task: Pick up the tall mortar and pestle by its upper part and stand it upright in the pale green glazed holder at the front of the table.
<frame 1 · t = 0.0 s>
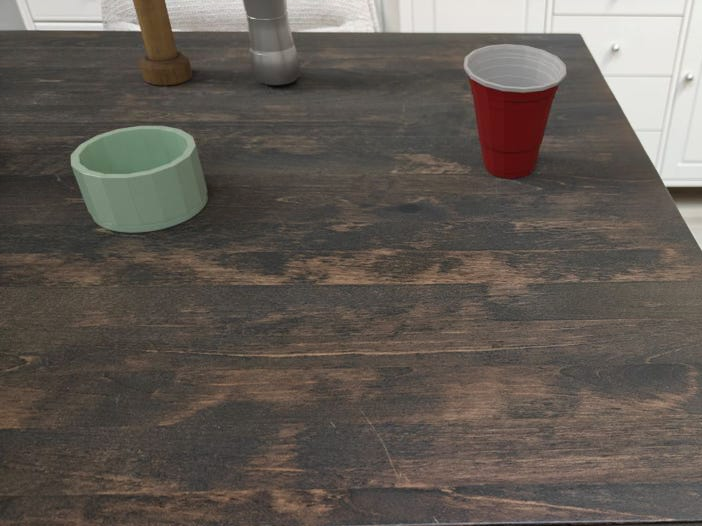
holder: (150, 203, 78), on the table
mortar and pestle: (169, 79, 104), on the table
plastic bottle: (278, 83, 104), on the table
plastic cup: (510, 169, 85), on the table
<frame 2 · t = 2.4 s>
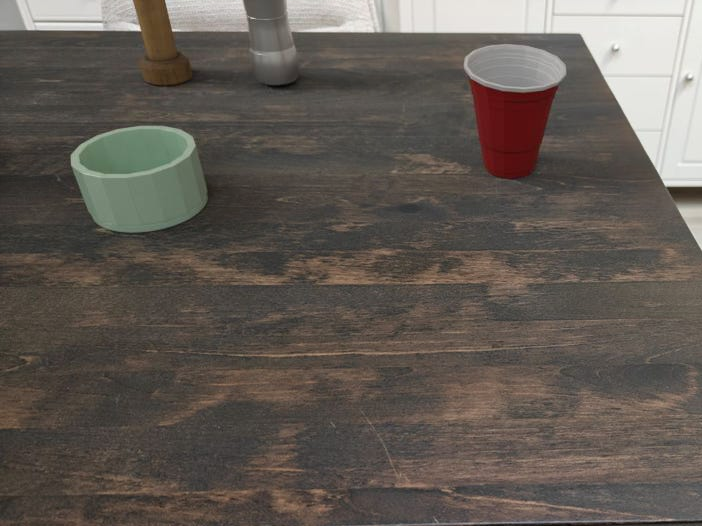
nothing on the table moved.
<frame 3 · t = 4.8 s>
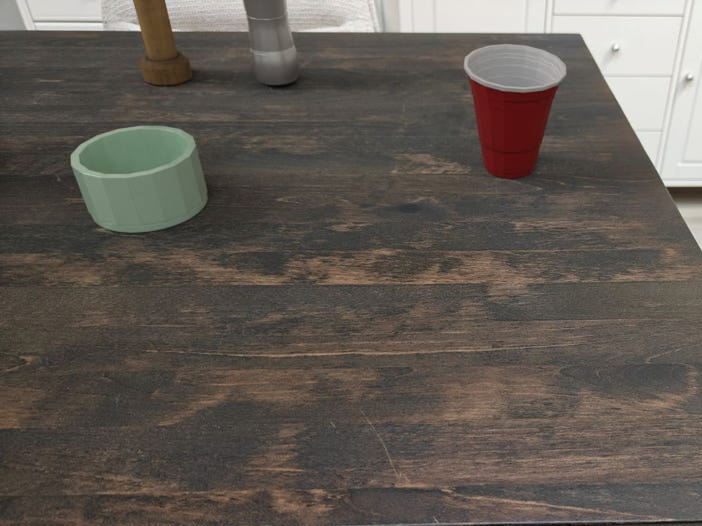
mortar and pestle: (169, 78, 104), on the table, touching gripper
everything else where it was.
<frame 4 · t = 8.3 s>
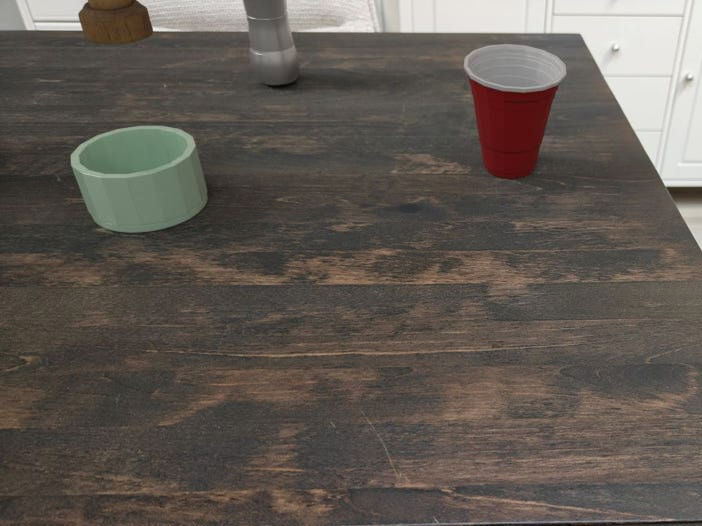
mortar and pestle: (120, 36, 76), point 14 cm above the table, touching gripper
everything else where it was.
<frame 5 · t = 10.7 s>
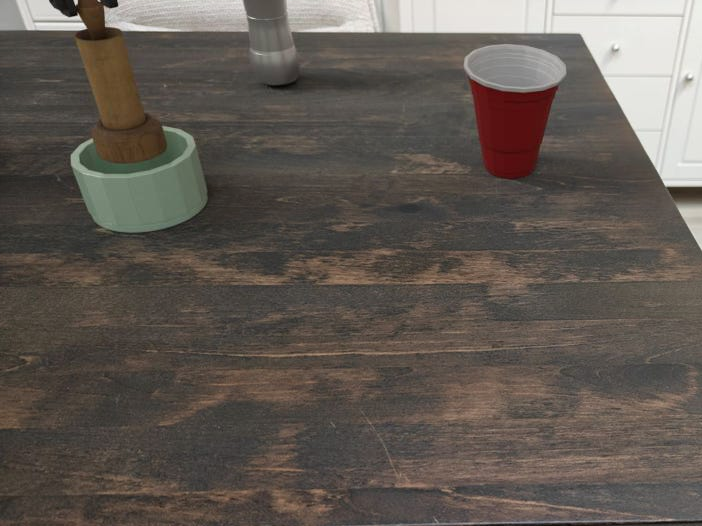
hand: (89, 9, 65), 19 cm above the table, tool pointing down, fingers closed on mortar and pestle, 3 cm apart
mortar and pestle: (133, 151, 74), point 6 cm above the table, touching gripper
everything else where it was.
when the fingers open (14 cm above the table, at t = 12.3 s): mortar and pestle stays where it is, resting on holder.
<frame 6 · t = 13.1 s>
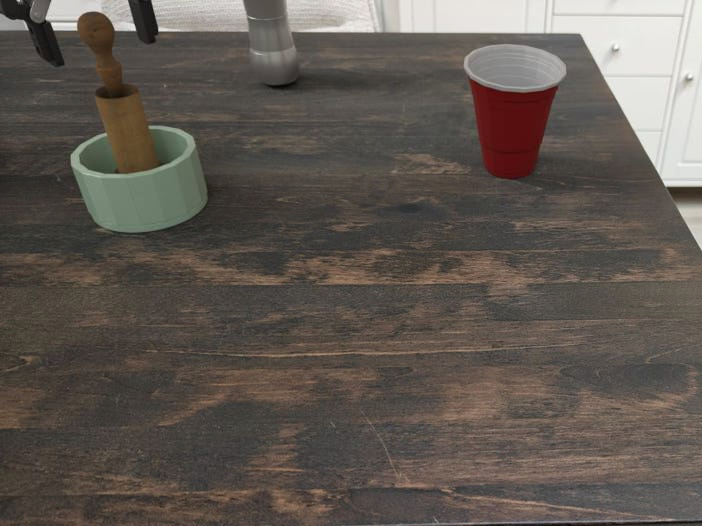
hand: (103, 52, 68), 15 cm above the table, tool pointing down, fingers open, 8 cm apart
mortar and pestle: (148, 198, 77), point 1 cm above the table, touching holder
everything else where it was.
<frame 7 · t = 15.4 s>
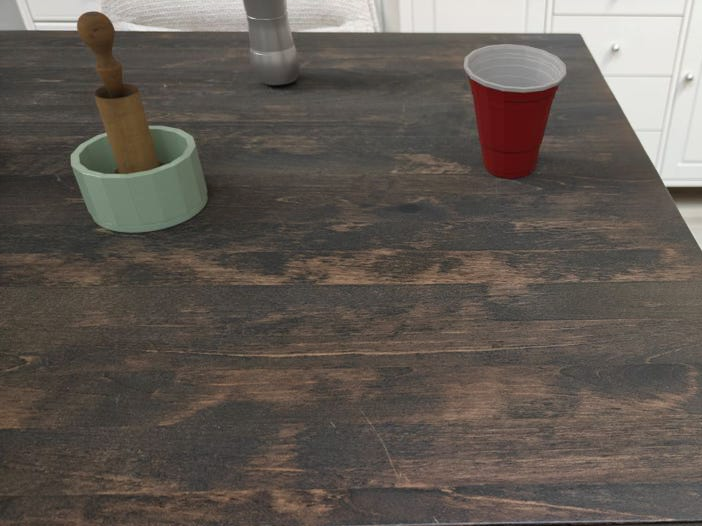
nothing on the table moved.
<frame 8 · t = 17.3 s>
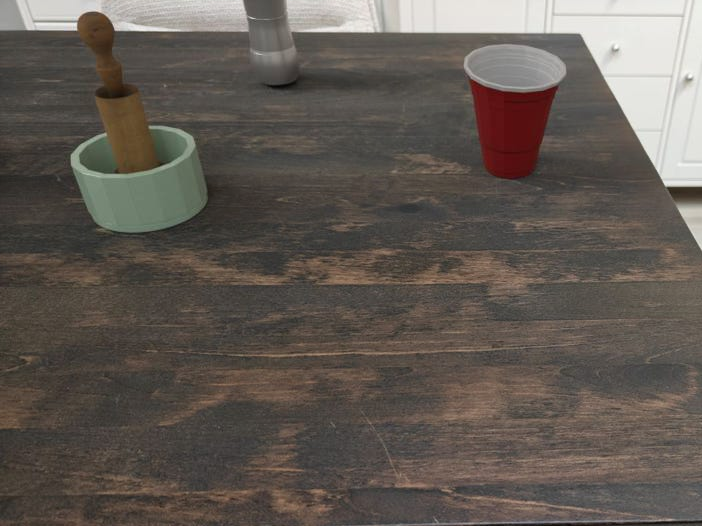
nothing on the table moved.
at the end: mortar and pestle 0.1 cm off-centre in the holder, point 0.6 cm above the holder's base; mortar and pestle tilted 0° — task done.
